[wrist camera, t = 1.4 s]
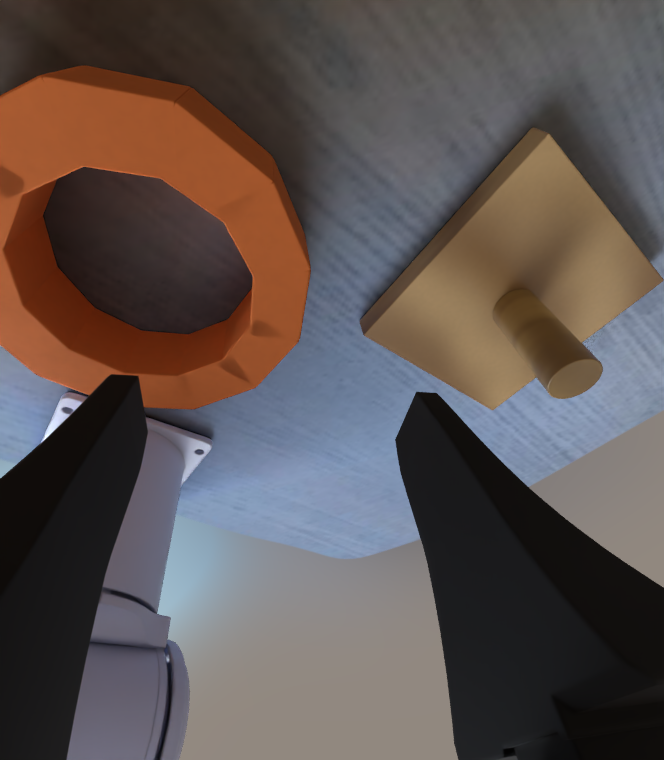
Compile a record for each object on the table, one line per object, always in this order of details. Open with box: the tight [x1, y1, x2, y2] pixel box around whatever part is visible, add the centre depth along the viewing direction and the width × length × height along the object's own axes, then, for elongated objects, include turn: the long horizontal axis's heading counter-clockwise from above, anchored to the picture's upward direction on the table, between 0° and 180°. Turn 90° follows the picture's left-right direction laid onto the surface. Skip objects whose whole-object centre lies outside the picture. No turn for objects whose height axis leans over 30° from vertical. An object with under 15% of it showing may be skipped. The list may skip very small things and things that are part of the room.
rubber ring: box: [0, 65, 311, 409], centre depth 15 cm, size 12×12×3 cm
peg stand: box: [360, 127, 663, 410], centre depth 17 cm, size 10×10×6 cm
